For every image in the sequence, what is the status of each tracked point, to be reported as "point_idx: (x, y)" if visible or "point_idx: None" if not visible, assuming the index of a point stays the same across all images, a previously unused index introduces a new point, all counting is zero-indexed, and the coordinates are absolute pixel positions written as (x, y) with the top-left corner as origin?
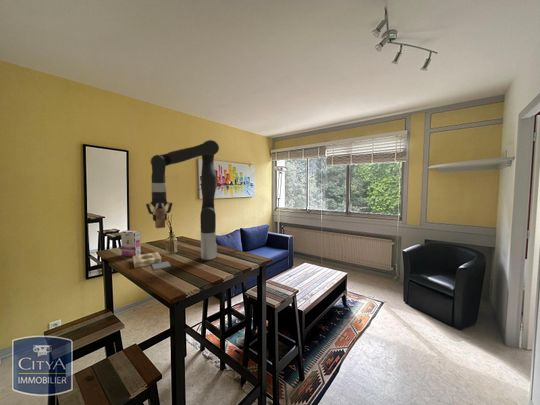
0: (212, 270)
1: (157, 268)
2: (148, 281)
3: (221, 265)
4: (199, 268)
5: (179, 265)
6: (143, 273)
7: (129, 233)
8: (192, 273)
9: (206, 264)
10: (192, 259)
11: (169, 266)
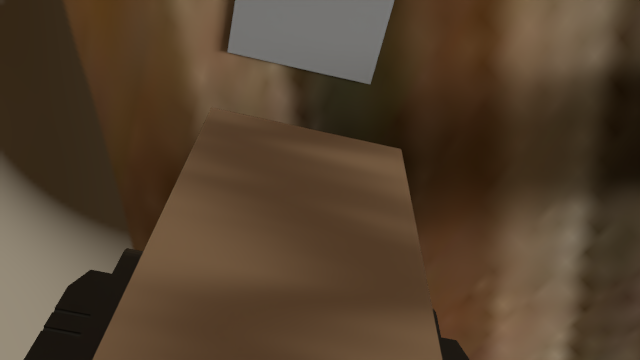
0: (528, 333)
1: (256, 57)
2: (143, 214)
3: (636, 311)
4: (499, 255)
5: (437, 98)
6: (142, 54)
7: None
8: None
9: (590, 229)
10: (617, 40)
11: (356, 79)
